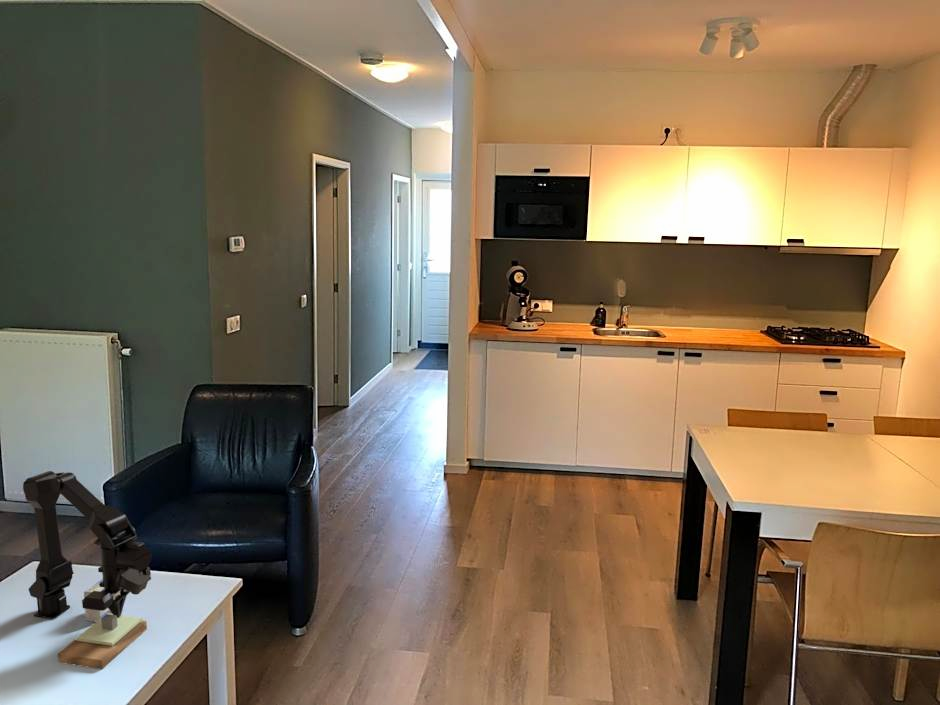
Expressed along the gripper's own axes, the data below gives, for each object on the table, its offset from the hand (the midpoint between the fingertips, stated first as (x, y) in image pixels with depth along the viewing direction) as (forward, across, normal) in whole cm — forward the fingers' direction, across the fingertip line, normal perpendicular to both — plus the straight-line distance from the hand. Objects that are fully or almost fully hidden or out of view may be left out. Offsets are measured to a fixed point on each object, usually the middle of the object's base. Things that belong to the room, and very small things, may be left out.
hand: (117, 617), depth 197 cm
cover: (+2, -3, 0) cm, 4 cm away
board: (+4, -6, 0) cm, 7 cm away
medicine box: (+5, +7, +10) cm, 13 cm away
